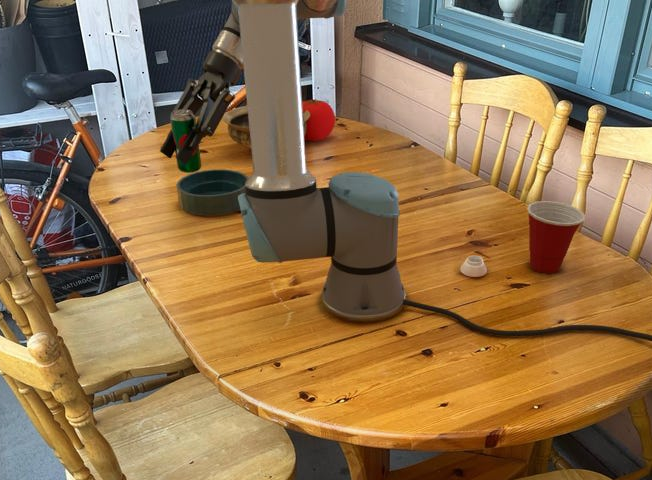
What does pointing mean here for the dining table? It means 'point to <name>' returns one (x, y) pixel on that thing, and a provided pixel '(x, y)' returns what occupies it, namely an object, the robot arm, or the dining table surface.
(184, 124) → the soda can
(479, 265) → the lidless jar
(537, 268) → the plastic cup
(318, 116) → the tomato
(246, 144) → the ceramic bowl
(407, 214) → the dining table surface
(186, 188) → the glazed bowl
